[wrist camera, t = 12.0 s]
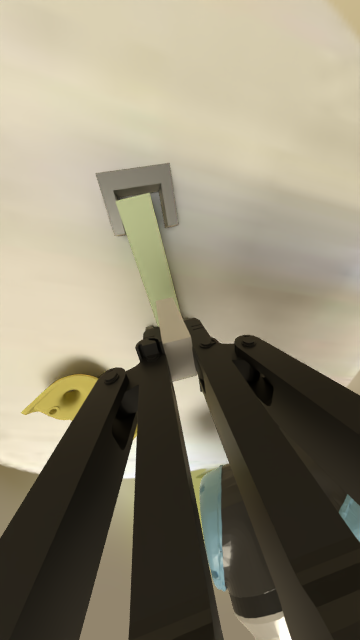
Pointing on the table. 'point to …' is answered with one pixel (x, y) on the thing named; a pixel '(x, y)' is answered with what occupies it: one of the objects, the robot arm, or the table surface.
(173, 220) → the end caps
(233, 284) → the table surface
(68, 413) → the plastic component
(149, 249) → the slat
